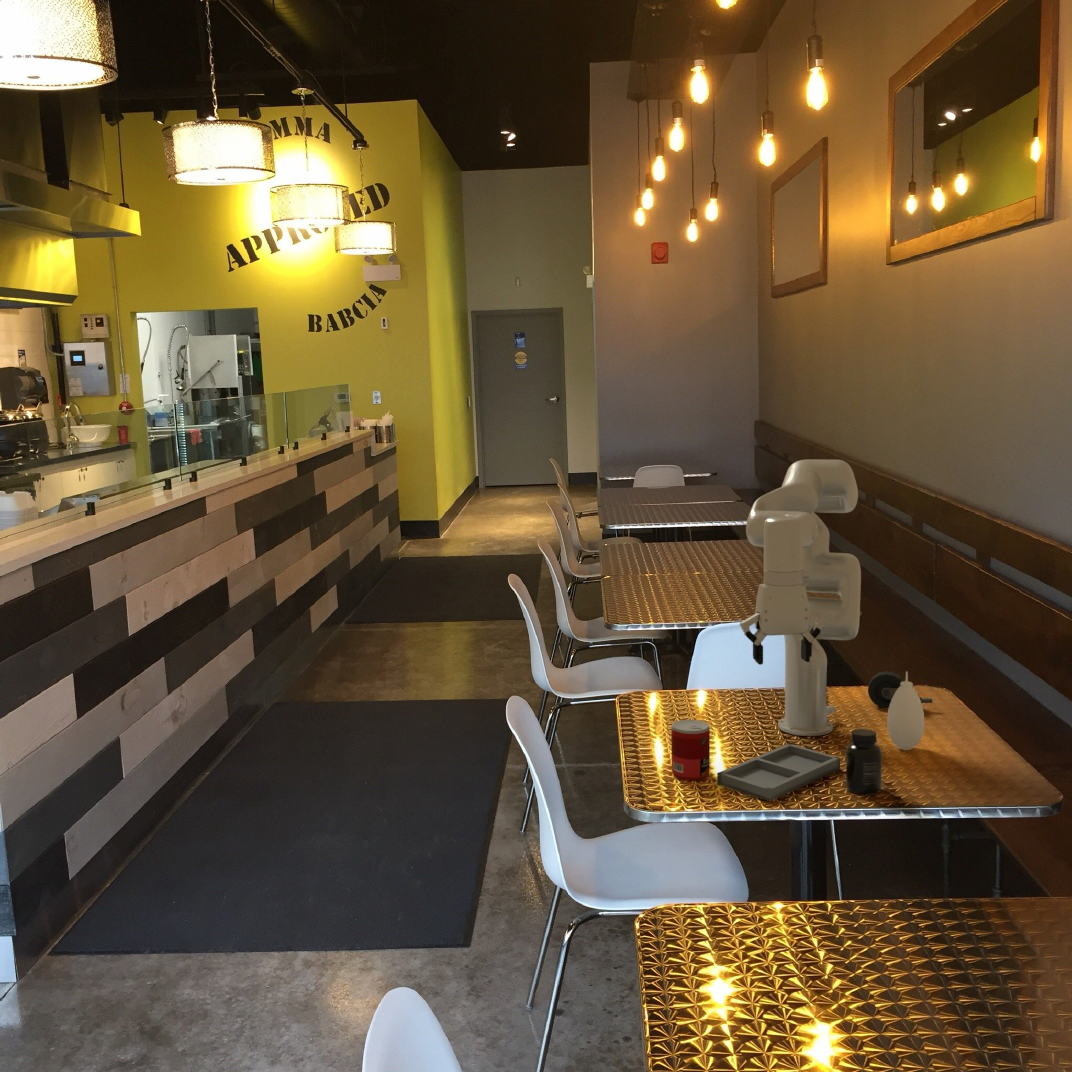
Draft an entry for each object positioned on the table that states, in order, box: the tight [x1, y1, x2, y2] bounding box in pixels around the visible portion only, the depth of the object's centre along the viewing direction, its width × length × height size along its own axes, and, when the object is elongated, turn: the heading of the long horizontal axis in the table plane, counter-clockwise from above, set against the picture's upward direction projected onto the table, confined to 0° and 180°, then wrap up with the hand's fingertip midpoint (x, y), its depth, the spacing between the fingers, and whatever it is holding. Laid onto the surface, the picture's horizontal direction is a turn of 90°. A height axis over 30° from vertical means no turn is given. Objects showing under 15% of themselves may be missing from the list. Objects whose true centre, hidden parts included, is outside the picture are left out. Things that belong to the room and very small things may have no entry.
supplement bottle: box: [845, 728, 883, 796], centre depth 214 cm, size 7×7×12 cm
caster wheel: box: [867, 670, 933, 709], centre depth 265 cm, size 6×10×15 cm
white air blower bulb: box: [886, 670, 925, 751], centre depth 235 cm, size 8×8×18 cm
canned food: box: [670, 719, 711, 782], centre depth 224 cm, size 8×8×11 cm
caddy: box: [716, 743, 841, 802], centre depth 222 cm, size 25×13×2 cm, turn 132°
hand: (782, 661), depth 214 cm, fingers open, 9 cm apart
